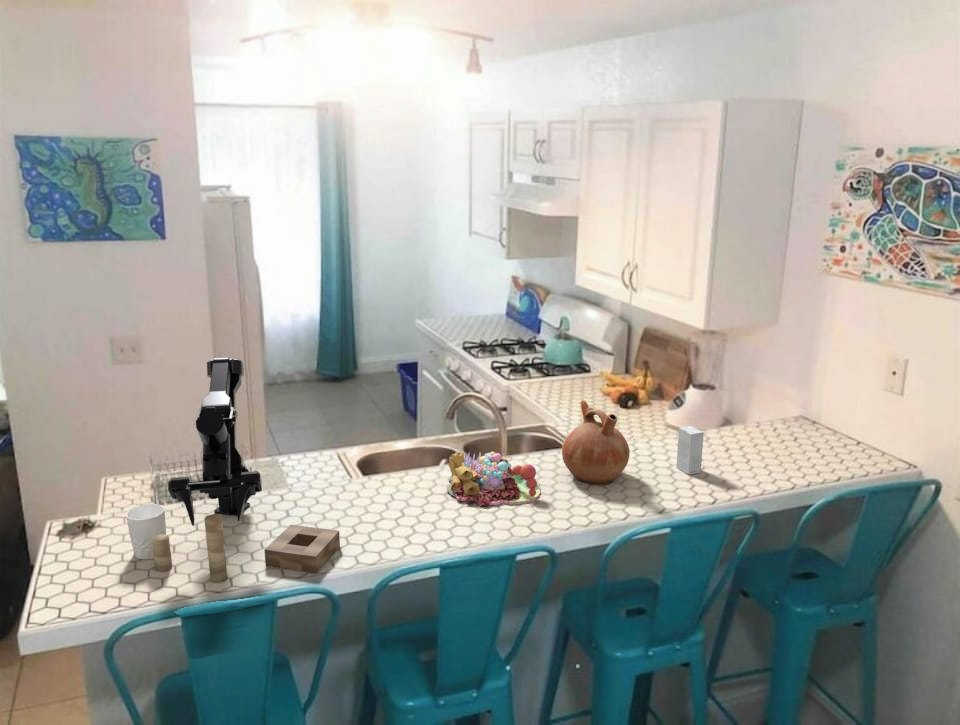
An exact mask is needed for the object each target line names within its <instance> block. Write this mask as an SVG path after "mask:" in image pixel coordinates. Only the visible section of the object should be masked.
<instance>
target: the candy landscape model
mask: <svg viewBox="0 0 960 725" xmlns="http://www.w3.org/2000/svg"><path fill="white" fill-rule="evenodd" d="M470 454H471V452H470V451H469V452H468V453H464V452H462V451H455V453H452V454H451V455H449V458H448V461H449V463H448V464H447V465H448V467H449V470H450V472H451V475H450V477H448V479H447V480H448V481H449V482H450V483H451V484H449V486H447V488H446V492H448V493H449V495H451V496H453V497H455V498H456V501H460V502H462V501H463V502H466V505H469V504H472V503H473V502H477V506H478V507H488V506H499V505H501V504H504V505H509V506H513V505H517V506H518V505H520V504H521V505H522V504H530V503H533V502H535V501H536V500H537V499H539V497H540V495H541V486H540V484H539V481H537V480H536V475H537V470H536V468H535V467H534V465H532V464H525V465H523V466H522V465H519V464H516V465H514V466H513V467H512V464H511V463H510V462H509V460H507V458H505V457H502V454H500V453H499V452H494V451H490V452H487V453H485V454H482V453H481V451H480V452H479V453H478V456H477V457H476V454H475V452H474V453H473V457H472V456H471V455H470Z"/></svg>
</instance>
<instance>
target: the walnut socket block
mask: <svg viewBox="0 0 960 725" xmlns="http://www.w3.org/2000/svg"><path fill="white" fill-rule="evenodd" d="M340 538H341V537H340V530H337V529H336V530H335V529H328V528H319V527H312V526H307V525H306V526H305V525H297V524H296V525H295V524H289V526H288V527H286V528H285V529H284V530H283V532H281V533H280V534H279V535H278V536H277V537H276V538H275V539H274V540H272V542H271V543H269V545H268V546H266V547H265V548H264V560H265V561H264V562H265V567H267V568H268V567H269V568H274V569H282V570H290V571H296V572H303V573H304V572H305V573H309V574H318V573H319V571H321V569H322V568H323V567H324V566H325V565H326V564H327V562H328V561H329V560H330V559H331V558H332V557H333V555H334V554H335V553H336V552H337V551H338V550H339V548H340V547H341V540H340Z"/></svg>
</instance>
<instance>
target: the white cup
mask: <svg viewBox="0 0 960 725" xmlns="http://www.w3.org/2000/svg"><path fill="white" fill-rule="evenodd" d="M125 516H126V521H127V522H126V523H127V526H128V528H127V529H128V532H129V538H130V543H131V546H132V551H133V556H134V557H135V558H136V559H138V560H139V559H140V560H153V559H154V553H153V545H152V538H153V537H155V536H157V535H162V534H165V535H167V526H166V524H167V523H166V522H167V521H166V508H165V507H164V506H163V505H162V504H158V503H145V504H141V505H138V506H135V507H133V508H130V509H129V510H128V511H126V514H125Z"/></svg>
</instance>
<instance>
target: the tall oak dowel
mask: <svg viewBox="0 0 960 725" xmlns="http://www.w3.org/2000/svg"><path fill="white" fill-rule="evenodd" d="M204 527H205V529H204V530H205V536H206V537H205V539H206V547H207V558H208V569H209V578H210V582H211V583H213V584H217V583H218V584H219V583H223V582H225V581H227V579H228V569H227V558H226V549H225V547H226V546H225V538H224V537H225V535H224V526H223V516H222V515H221V514H220V513H213V514H208V515H207V516H204Z"/></svg>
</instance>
